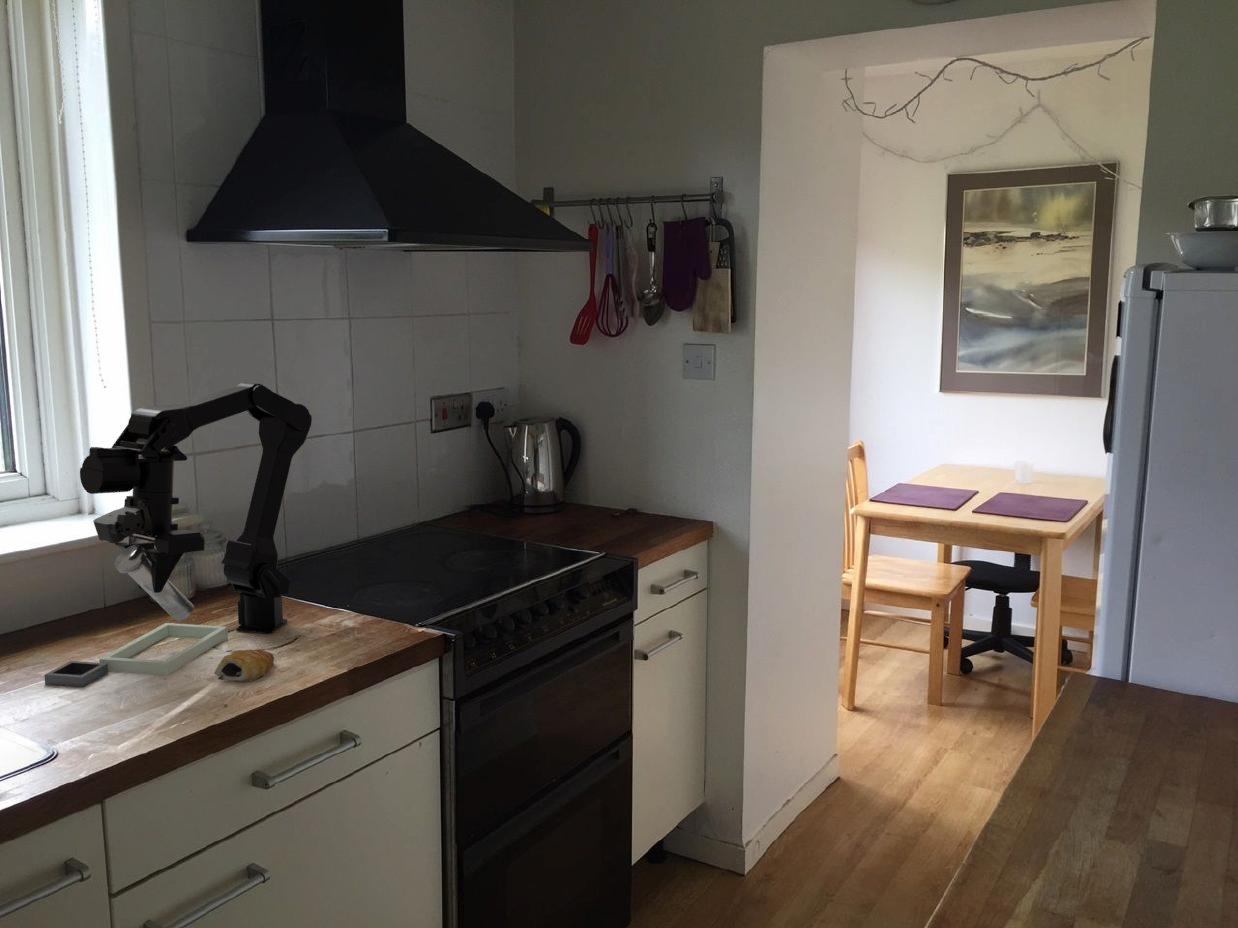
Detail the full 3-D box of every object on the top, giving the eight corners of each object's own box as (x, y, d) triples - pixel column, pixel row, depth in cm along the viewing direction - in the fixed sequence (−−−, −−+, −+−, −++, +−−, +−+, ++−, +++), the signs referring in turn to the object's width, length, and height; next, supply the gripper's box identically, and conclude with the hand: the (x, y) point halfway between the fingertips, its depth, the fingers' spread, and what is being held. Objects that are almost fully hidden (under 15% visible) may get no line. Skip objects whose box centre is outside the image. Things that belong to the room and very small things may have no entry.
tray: (228, 641, 181) (227, 626, 181) (168, 679, 163) (167, 663, 163) (166, 637, 183) (165, 622, 182) (100, 674, 165) (99, 658, 165)
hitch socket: (108, 677, 164) (107, 663, 163) (83, 692, 158) (82, 677, 157) (71, 675, 165) (70, 660, 164) (45, 689, 159) (44, 674, 158)
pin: (201, 597, 176) (147, 541, 167) (191, 621, 172) (135, 565, 163) (176, 602, 177) (121, 548, 168) (166, 626, 174) (109, 571, 165)
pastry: (248, 660, 173) (247, 637, 172) (286, 665, 171) (285, 642, 170) (211, 681, 164) (210, 656, 163) (250, 686, 162) (250, 661, 161)
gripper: (68, 486, 166) (65, 587, 168) (141, 500, 156) (137, 608, 157) (135, 482, 176) (132, 578, 177) (208, 496, 165) (204, 597, 167)
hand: (149, 590), depth 169 cm, fingers closed on pin, 3 cm apart
